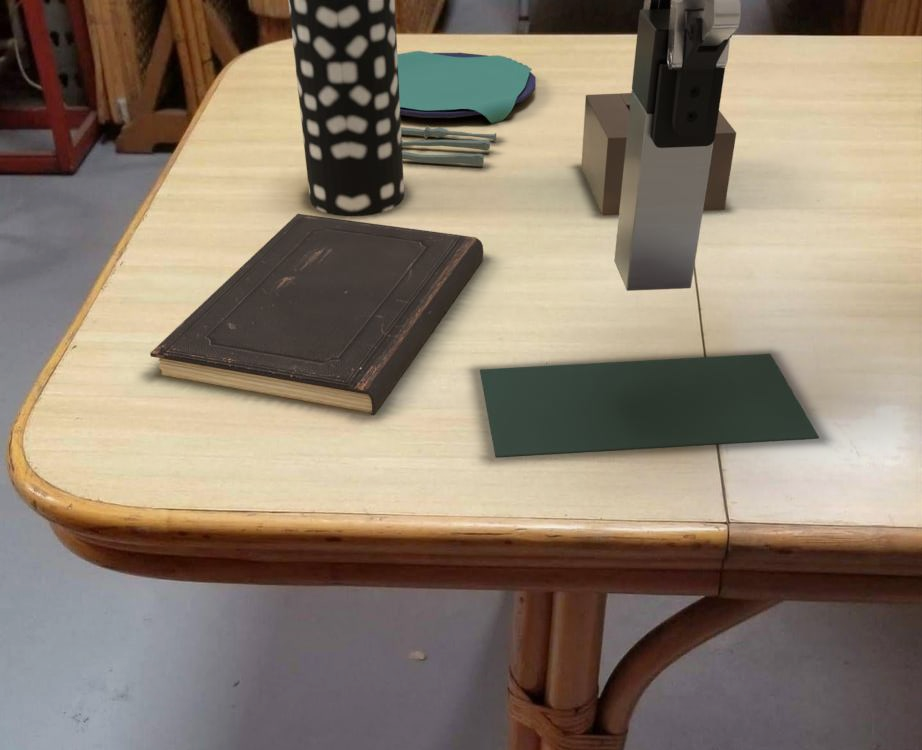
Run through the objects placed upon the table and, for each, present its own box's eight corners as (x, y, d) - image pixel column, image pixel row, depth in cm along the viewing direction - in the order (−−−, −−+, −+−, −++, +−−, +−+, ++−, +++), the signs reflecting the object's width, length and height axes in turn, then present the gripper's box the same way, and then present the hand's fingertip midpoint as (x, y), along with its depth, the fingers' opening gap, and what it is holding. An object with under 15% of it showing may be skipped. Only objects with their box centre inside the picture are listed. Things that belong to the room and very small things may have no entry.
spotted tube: (291, 202, 95) (260, -52, 82) (362, 175, 99) (343, -69, 86) (352, 230, 90) (330, -34, 77) (423, 200, 95) (414, -54, 82)
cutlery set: (548, 75, 120) (549, 53, 119) (502, 178, 98) (502, 153, 97) (377, 65, 124) (376, 44, 122) (295, 163, 101) (292, 139, 100)
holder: (693, 167, 100) (703, 89, 95) (723, 215, 92) (736, 132, 87) (580, 172, 99) (585, 94, 94) (601, 220, 91) (608, 138, 86)
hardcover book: (156, 381, 73) (149, 352, 71) (300, 239, 89) (297, 213, 87) (375, 421, 69) (373, 391, 67) (483, 265, 85) (483, 237, 83)
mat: (768, 360, 74) (770, 353, 73) (817, 444, 66) (819, 436, 66) (479, 376, 73) (479, 369, 72) (495, 464, 65) (495, 455, 65)
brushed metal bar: (675, 259, 65) (711, 7, 55) (691, 288, 62) (731, 28, 53) (613, 261, 64) (639, 9, 55) (626, 291, 61) (655, 30, 52)
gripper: (884, -298, 39) (788, 188, 51) (753, -317, 52) (701, 77, 64) (684, -295, 39) (634, 194, 51) (601, -314, 52) (577, 82, 64)
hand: (672, 125), depth 57 cm, fingers closed on brushed metal bar, 3 cm apart
